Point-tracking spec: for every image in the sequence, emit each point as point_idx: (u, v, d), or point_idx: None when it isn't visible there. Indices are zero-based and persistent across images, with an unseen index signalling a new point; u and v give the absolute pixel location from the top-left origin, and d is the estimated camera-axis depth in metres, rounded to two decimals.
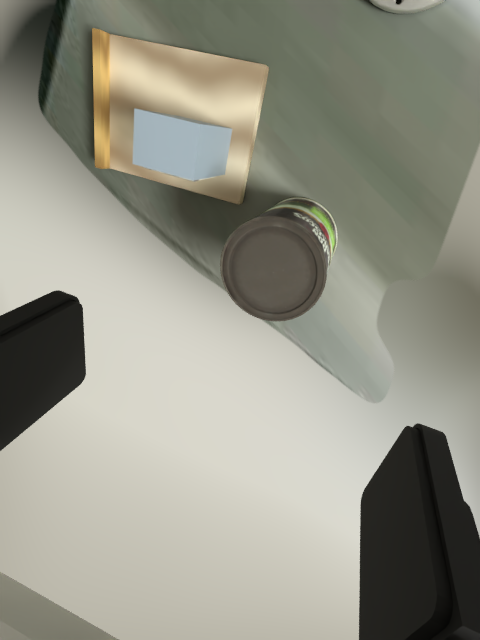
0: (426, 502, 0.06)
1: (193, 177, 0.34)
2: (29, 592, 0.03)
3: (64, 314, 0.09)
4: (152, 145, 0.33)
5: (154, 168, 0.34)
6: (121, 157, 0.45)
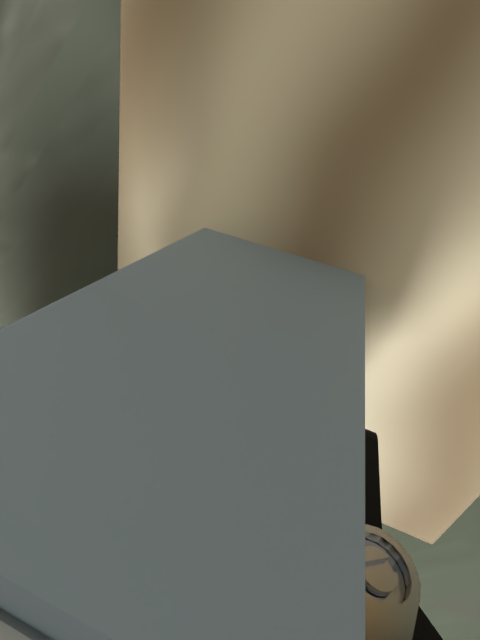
0: None
1: None
2: None
3: None
4: None
5: None
6: None
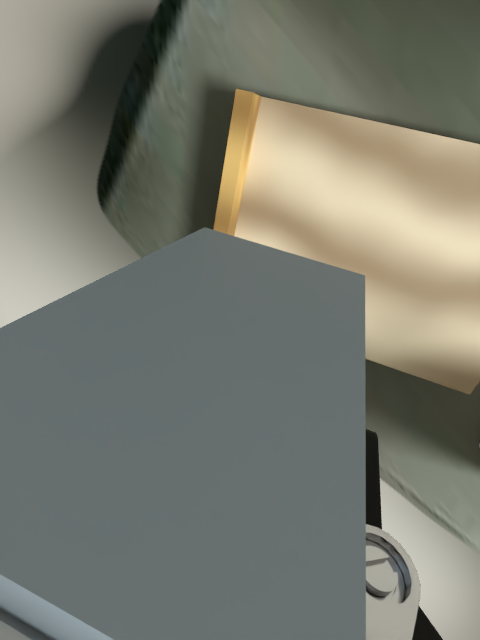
0: None
1: None
2: None
3: None
4: None
5: None
6: None
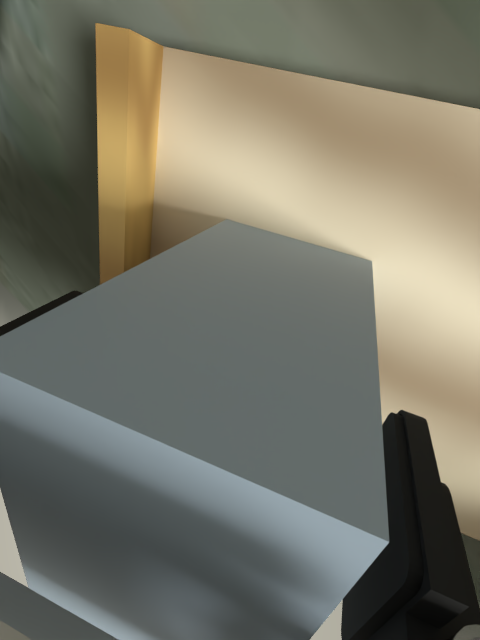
0: (404, 481, 0.06)
1: None
2: (29, 592, 0.03)
3: None
4: (121, 534, 0.05)
5: (6, 488, 0.05)
6: None
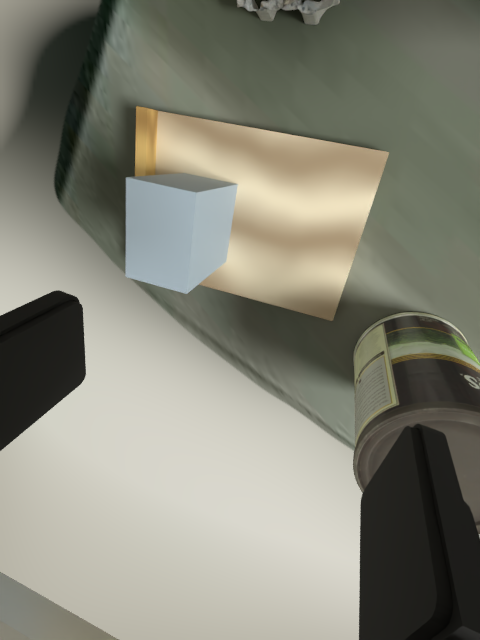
0: (426, 502, 0.06)
1: (129, 277, 0.25)
2: (29, 592, 0.03)
3: (64, 314, 0.09)
4: (154, 218, 0.23)
5: (127, 217, 0.23)
6: None
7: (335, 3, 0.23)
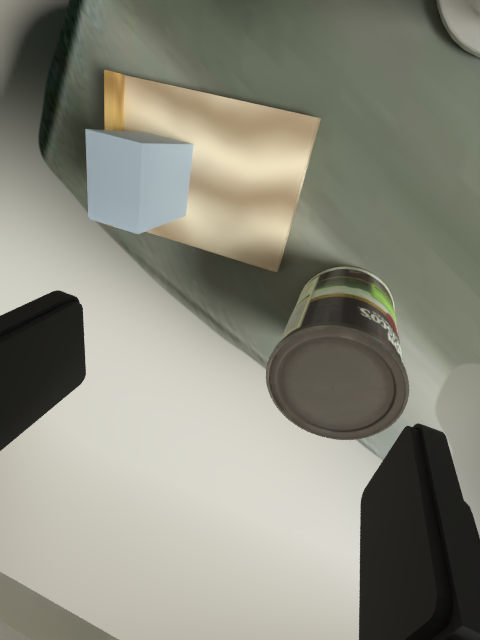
0: (426, 502, 0.06)
1: (91, 219, 0.30)
2: (29, 592, 0.03)
3: (64, 314, 0.09)
4: (109, 166, 0.27)
5: (88, 164, 0.27)
6: None
7: None
